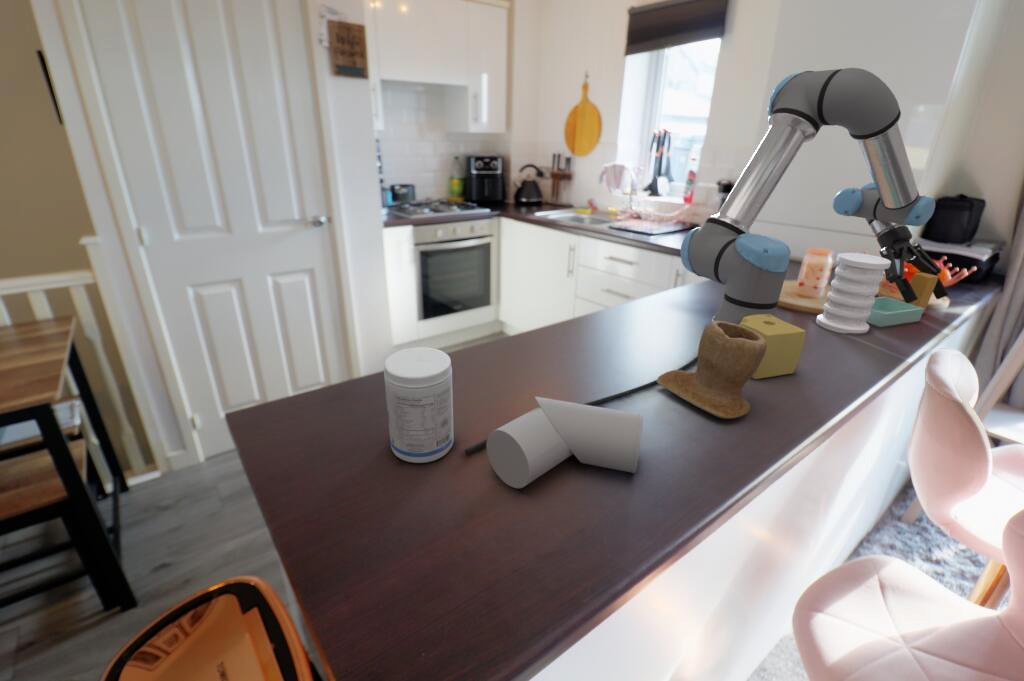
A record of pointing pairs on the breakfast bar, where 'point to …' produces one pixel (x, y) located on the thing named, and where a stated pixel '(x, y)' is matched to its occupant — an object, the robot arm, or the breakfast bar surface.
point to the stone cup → (719, 370)
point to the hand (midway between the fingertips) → (927, 299)
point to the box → (893, 312)
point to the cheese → (776, 344)
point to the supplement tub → (419, 403)
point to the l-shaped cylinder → (564, 440)
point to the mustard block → (923, 288)
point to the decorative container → (852, 292)
